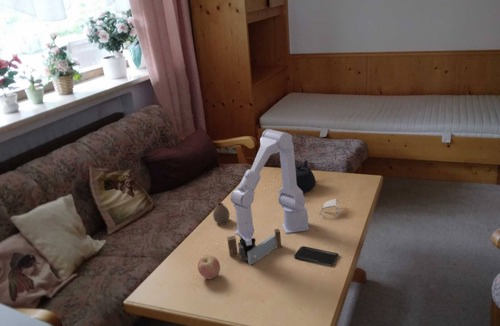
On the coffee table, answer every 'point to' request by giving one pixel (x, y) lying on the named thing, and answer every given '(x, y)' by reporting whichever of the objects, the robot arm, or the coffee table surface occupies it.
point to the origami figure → (330, 205)
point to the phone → (316, 256)
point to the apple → (209, 267)
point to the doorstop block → (242, 252)
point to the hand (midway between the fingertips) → (248, 251)
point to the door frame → (233, 245)
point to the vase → (221, 214)
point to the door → (261, 250)
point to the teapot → (304, 178)
